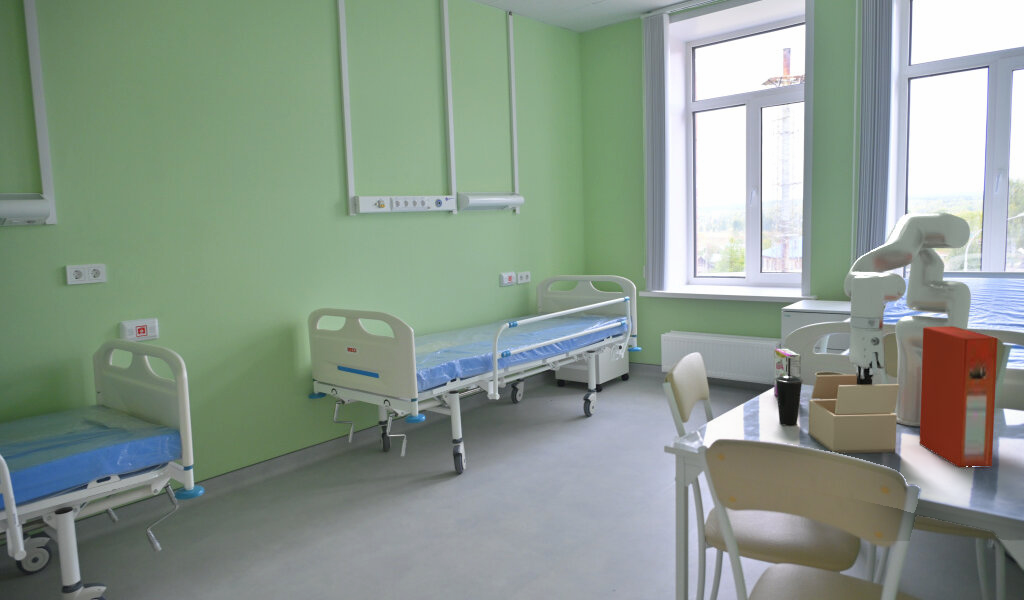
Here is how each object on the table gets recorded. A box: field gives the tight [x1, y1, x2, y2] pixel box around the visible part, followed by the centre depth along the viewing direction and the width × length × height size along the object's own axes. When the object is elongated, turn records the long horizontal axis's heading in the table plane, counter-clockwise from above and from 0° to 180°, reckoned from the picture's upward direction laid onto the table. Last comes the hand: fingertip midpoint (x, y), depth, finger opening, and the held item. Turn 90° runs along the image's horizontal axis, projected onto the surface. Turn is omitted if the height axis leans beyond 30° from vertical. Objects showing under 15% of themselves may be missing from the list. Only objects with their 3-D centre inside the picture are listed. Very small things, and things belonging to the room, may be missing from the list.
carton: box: [808, 399, 898, 454], centre depth 183 cm, size 16×16×10 cm
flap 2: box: [835, 383, 899, 414], centre depth 173 cm, size 15×8×1 cm
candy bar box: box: [773, 348, 802, 404], centre depth 227 cm, size 11×5×16 cm, turn 179°
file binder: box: [919, 326, 998, 468], centre depth 170 cm, size 8×17×32 cm, turn 177°
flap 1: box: [811, 373, 857, 400], centre depth 187 cm, size 15×8×1 cm
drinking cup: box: [775, 358, 804, 427], centre depth 200 cm, size 8×8×20 cm
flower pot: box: [814, 371, 845, 400], centre depth 225 cm, size 9×9×9 cm
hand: (864, 392), depth 174 cm, fingers closed
